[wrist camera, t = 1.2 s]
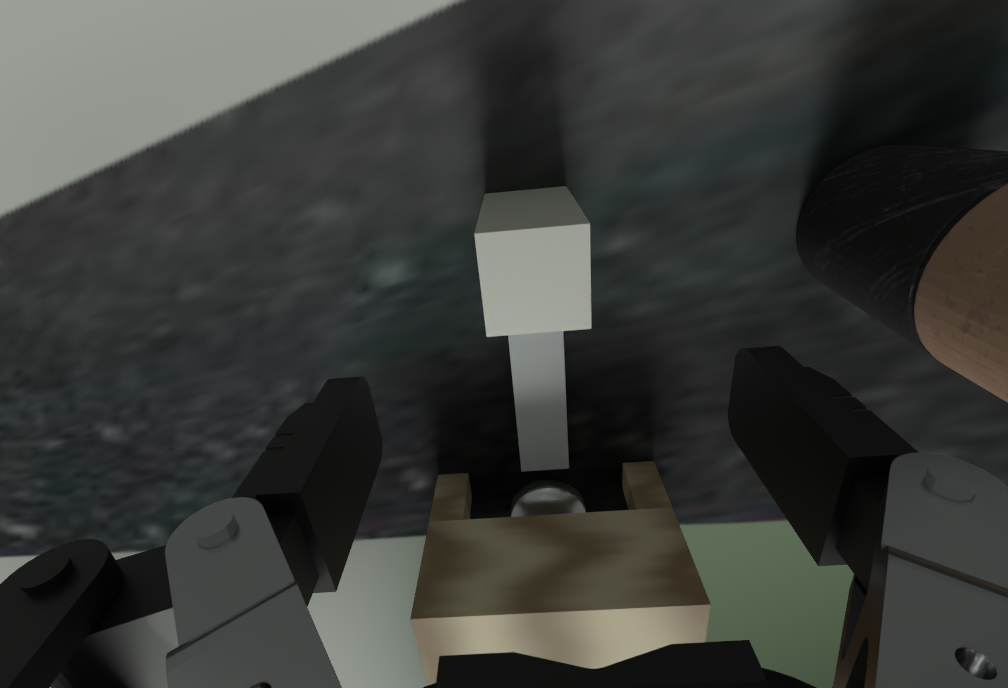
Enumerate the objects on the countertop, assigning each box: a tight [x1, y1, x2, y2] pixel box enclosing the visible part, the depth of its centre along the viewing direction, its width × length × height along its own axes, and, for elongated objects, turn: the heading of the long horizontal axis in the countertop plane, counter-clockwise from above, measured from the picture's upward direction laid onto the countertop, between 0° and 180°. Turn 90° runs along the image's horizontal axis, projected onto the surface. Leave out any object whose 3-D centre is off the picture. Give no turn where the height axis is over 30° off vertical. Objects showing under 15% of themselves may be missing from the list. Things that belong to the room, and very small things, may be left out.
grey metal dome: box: [511, 479, 586, 517], centre depth 33 cm, size 5×5×2 cm
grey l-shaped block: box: [474, 186, 591, 472], centre depth 24 cm, size 17×4×8 cm, turn 5°
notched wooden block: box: [410, 461, 711, 685], centre depth 29 cm, size 14×9×10 cm, turn 95°
